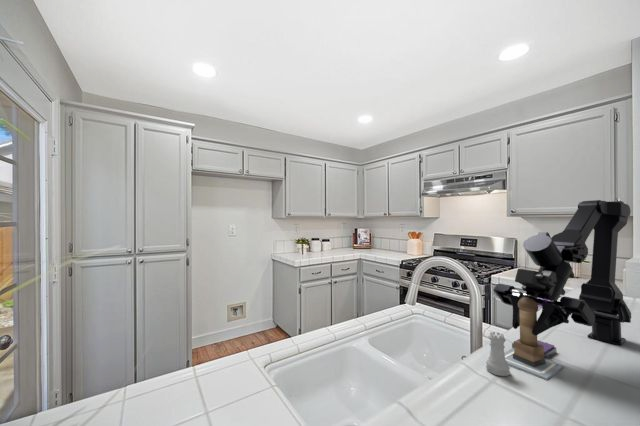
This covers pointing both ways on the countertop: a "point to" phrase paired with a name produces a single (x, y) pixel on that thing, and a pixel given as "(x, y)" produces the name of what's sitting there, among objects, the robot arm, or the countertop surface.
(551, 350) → the ink pad
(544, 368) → the marked card
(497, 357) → the rook chess piece
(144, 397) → the countertop surface
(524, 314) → the wooden ball finial
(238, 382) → the countertop surface
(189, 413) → the countertop surface
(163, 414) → the countertop surface
